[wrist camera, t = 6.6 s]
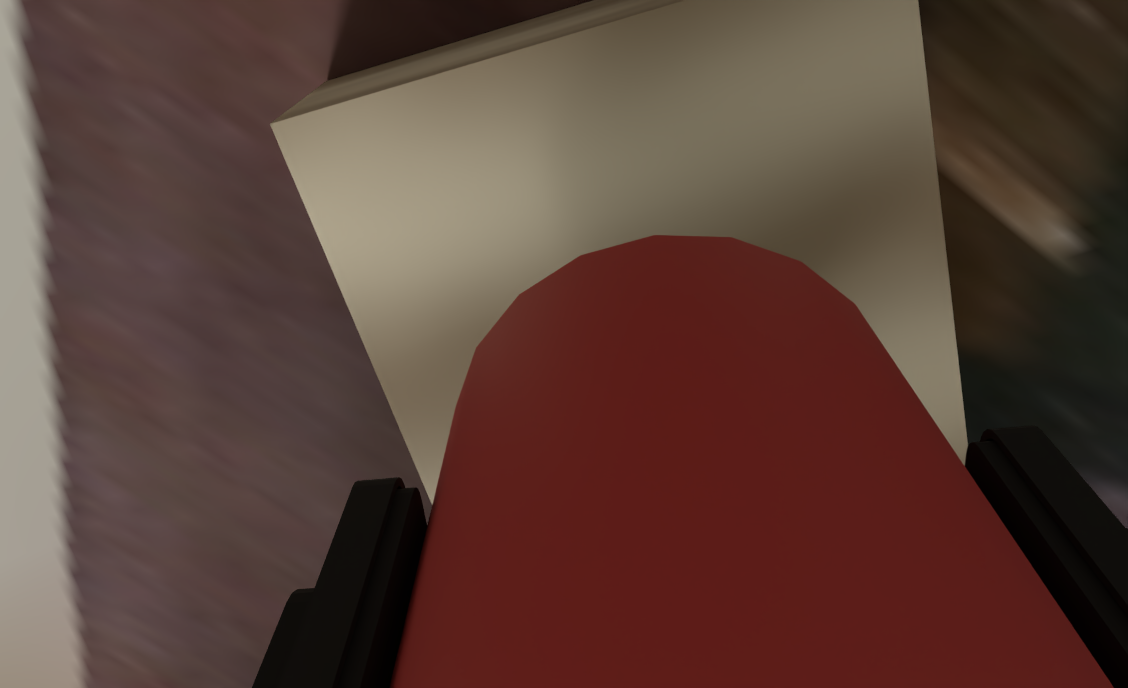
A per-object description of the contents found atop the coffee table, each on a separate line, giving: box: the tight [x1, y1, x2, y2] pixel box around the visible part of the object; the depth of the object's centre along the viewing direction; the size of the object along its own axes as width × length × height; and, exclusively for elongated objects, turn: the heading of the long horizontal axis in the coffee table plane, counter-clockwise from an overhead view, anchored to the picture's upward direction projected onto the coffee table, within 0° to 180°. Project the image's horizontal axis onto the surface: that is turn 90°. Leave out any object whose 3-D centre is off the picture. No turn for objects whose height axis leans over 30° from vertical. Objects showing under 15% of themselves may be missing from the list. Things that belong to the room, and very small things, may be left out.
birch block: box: [270, 0, 968, 505], centre depth 19 cm, size 11×11×4 cm
